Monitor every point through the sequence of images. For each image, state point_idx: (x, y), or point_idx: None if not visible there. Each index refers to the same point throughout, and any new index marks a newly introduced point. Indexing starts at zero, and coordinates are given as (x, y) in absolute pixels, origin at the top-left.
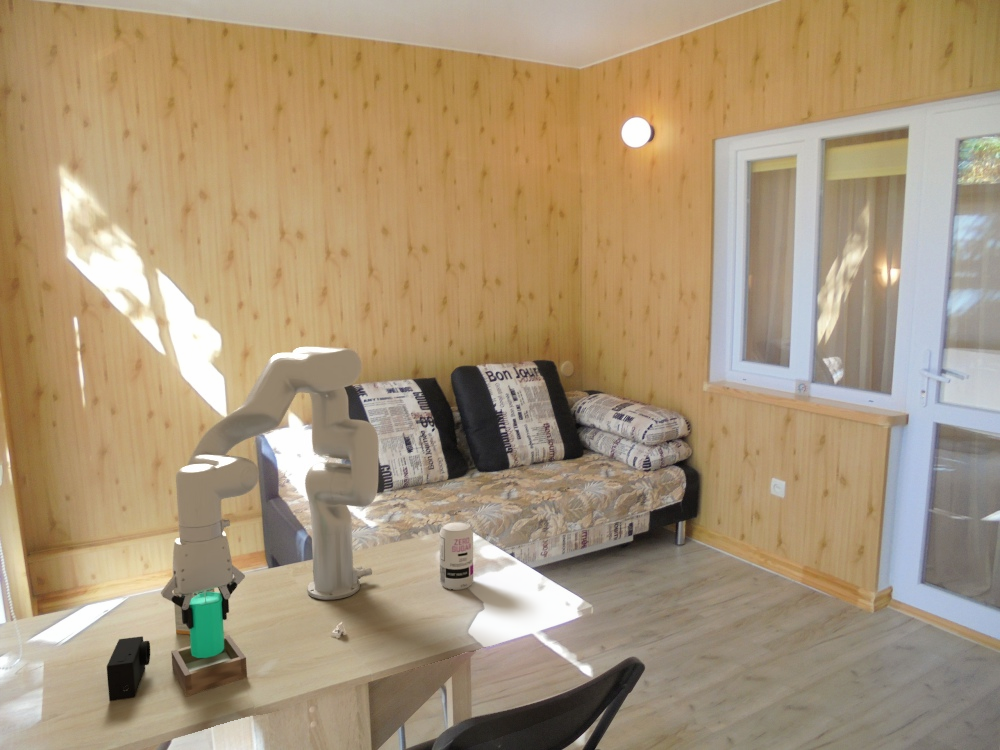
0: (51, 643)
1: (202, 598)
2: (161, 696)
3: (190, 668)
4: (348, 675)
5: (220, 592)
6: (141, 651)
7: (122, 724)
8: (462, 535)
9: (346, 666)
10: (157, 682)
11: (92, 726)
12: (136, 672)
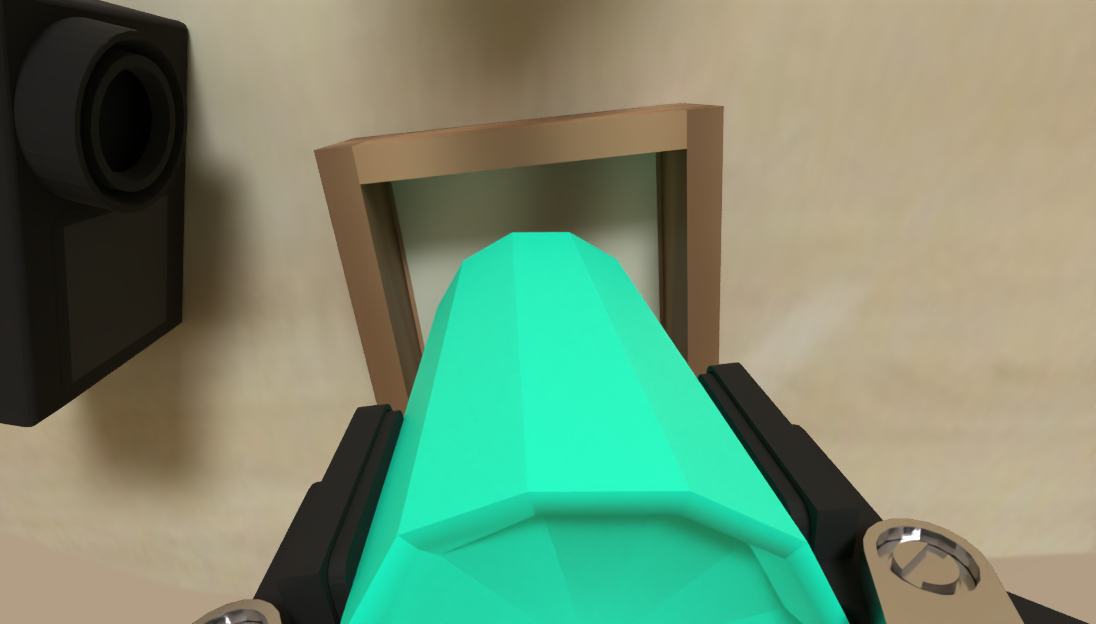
0: None
1: (563, 574)
2: (307, 370)
3: (443, 244)
4: (1008, 541)
5: (867, 611)
6: (70, 196)
7: (166, 499)
8: None
9: (1045, 485)
10: (278, 231)
11: (39, 465)
12: (118, 298)
